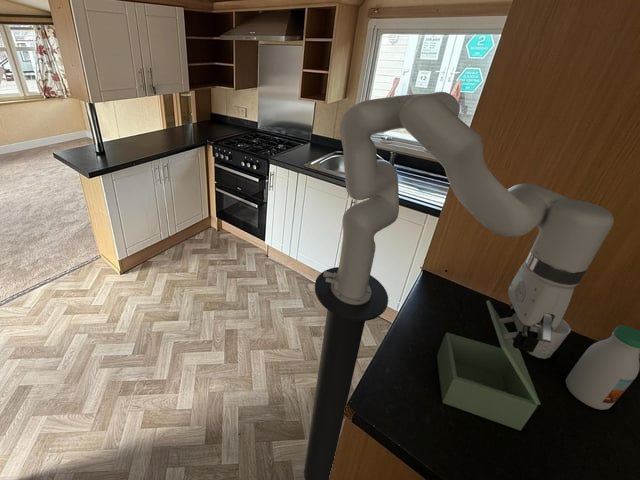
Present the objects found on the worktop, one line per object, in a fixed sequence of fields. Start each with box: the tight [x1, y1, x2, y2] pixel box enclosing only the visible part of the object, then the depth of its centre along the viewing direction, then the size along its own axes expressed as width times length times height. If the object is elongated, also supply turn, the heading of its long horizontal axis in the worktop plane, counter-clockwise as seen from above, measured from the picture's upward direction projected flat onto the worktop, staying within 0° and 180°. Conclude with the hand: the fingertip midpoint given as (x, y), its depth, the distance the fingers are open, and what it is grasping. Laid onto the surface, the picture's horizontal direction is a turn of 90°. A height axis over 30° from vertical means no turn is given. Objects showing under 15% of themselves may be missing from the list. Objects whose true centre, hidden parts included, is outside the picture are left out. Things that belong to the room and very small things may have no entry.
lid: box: [485, 300, 541, 406], centre depth 64 cm, size 15×13×5 cm
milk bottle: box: [565, 324, 640, 411], centre depth 68 cm, size 8×8×20 cm
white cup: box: [526, 318, 572, 360], centre depth 81 cm, size 8×8×10 cm
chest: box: [436, 332, 538, 432], centre depth 71 cm, size 15×13×9 cm
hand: (517, 336), depth 64 cm, fingers closed on lid, 5 cm apart
